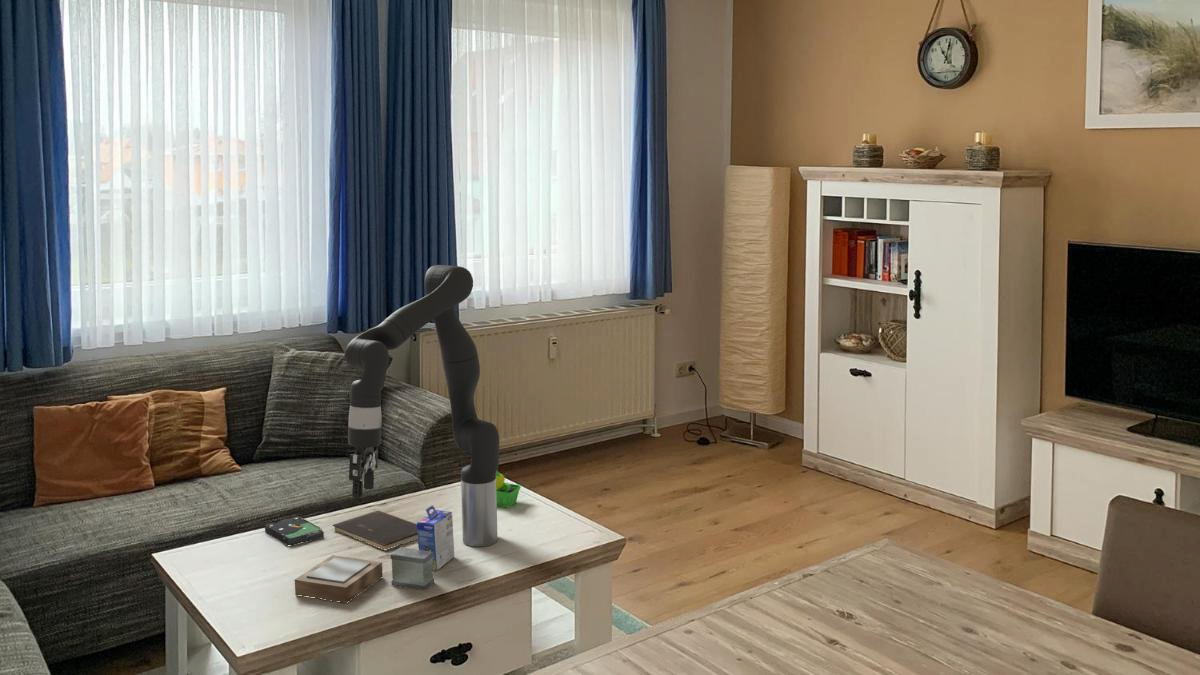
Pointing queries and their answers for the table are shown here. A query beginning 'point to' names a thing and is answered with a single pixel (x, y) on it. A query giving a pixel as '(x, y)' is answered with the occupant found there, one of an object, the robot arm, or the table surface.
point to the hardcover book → (379, 529)
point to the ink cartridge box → (437, 536)
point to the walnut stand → (338, 578)
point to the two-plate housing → (412, 568)
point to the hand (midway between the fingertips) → (363, 492)
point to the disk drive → (294, 530)
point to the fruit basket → (505, 491)
